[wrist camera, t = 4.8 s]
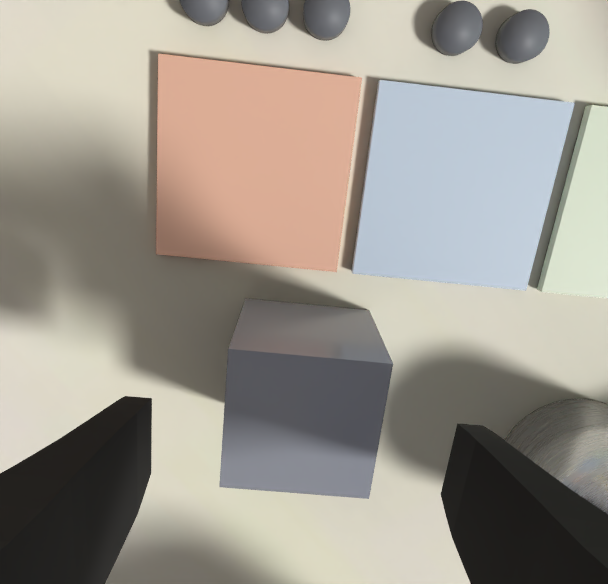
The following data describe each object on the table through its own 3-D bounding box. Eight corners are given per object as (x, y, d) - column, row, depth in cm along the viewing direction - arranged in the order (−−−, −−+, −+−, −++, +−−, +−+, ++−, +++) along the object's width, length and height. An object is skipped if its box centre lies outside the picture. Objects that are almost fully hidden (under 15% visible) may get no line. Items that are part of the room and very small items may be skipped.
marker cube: (351, 416, 16) (368, 498, 12) (237, 406, 16) (219, 487, 12) (368, 309, 15) (393, 363, 11) (245, 297, 15) (228, 348, 11)
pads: (700, 305, 15) (714, 310, 15) (158, 252, 14) (153, 255, 14) (798, 49, 13) (817, 45, 12) (162, -31, 12) (157, -39, 12)
